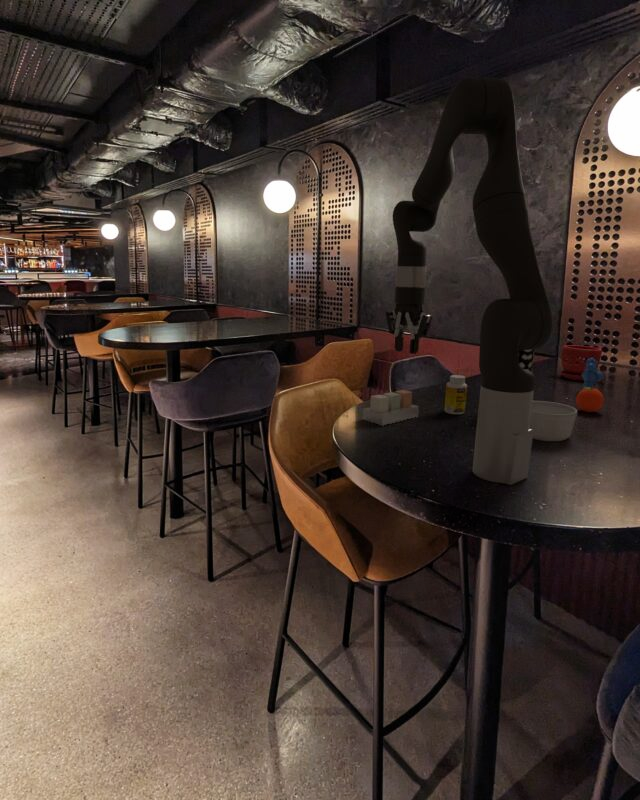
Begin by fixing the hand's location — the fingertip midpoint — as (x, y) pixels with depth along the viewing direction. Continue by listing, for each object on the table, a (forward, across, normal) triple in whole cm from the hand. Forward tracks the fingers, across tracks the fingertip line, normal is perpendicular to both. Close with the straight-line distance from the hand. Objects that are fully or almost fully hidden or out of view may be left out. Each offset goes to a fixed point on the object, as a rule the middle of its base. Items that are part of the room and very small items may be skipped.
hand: (406, 352), depth 132 cm
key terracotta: (+15, 0, 0) cm, 15 cm away
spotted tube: (+17, +16, +28) cm, 37 cm away
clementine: (+17, +28, +46) cm, 57 cm away
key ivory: (+15, 0, -9) cm, 17 cm away
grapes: (+17, +20, +70) cm, 75 cm away
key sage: (+15, 0, -5) cm, 15 cm away
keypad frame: (+17, 0, -5) cm, 18 cm away
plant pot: (+17, +6, +93) cm, 95 cm away
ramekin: (+18, +32, +15) cm, 39 cm away
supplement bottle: (+17, +6, +14) cm, 24 cm away
